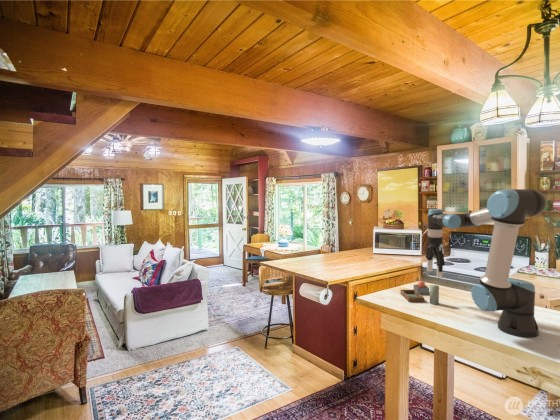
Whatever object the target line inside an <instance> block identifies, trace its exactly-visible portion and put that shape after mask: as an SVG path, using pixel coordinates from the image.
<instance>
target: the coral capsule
mask: <svg viewBox="0 0 560 420" xmlns="http://www.w3.org/2000/svg"><path fill="white" fill-rule="evenodd" d="M417 285H418V287H421V288H425V285H426V282H425V281H424V280H417Z"/></svg>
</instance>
